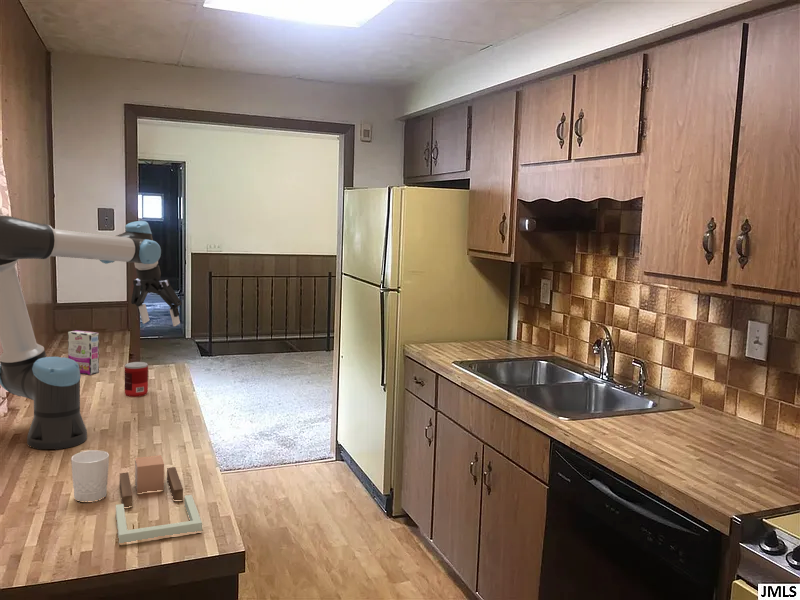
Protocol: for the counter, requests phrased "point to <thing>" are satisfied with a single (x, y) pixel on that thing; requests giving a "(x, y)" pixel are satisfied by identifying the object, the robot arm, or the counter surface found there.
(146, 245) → the robot arm
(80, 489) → the white cup
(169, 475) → the chute
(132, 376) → the canned food
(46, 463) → the counter surface
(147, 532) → the bay
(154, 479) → the block
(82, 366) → the candy bar box
